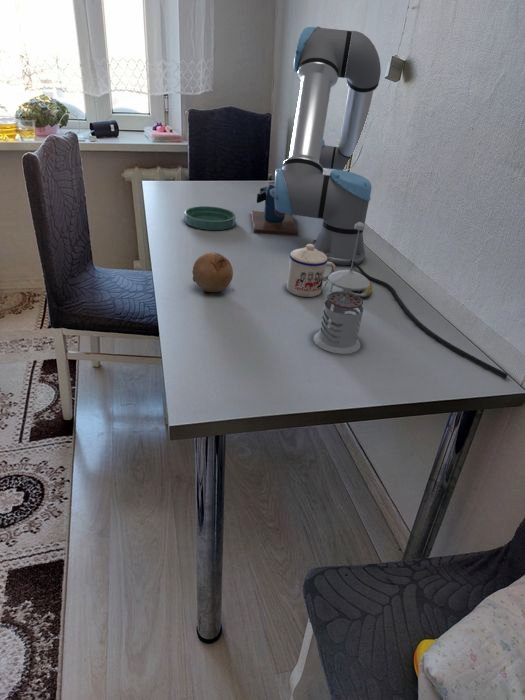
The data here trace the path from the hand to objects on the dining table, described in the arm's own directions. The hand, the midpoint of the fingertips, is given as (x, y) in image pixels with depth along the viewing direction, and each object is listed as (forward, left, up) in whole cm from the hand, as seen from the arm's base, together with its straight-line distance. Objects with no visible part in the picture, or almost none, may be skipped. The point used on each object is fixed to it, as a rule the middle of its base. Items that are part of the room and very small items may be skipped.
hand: (269, 201), depth 159 cm
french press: (-71, -9, -9) cm, 72 cm away
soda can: (+4, -2, -8) cm, 9 cm away
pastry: (-46, -20, -7) cm, 51 cm away
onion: (-50, +17, -9) cm, 53 cm away
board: (+4, -2, -9) cm, 10 cm away
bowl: (+1, +19, -9) cm, 21 cm away
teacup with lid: (-47, -7, -9) cm, 48 cm away
